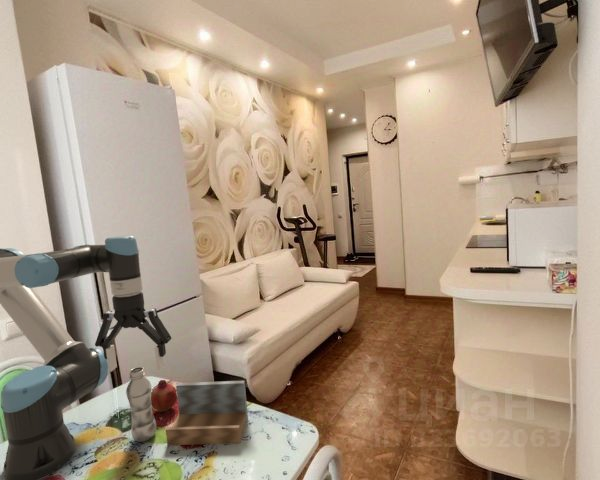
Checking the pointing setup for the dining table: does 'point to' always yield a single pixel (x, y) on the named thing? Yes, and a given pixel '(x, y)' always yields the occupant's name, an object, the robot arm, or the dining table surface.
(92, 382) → the robot arm
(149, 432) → the silver metal bottle
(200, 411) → the brown wooden box
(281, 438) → the dining table surface
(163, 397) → the fruit
